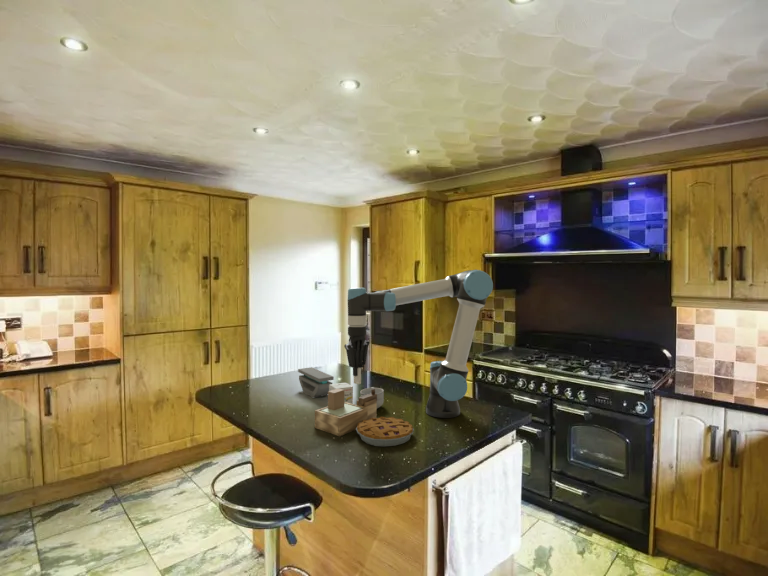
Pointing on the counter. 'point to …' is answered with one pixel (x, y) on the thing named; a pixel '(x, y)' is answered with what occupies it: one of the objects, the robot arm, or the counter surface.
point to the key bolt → (367, 397)
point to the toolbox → (345, 418)
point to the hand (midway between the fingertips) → (357, 383)
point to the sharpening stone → (314, 382)
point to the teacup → (377, 391)
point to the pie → (385, 431)
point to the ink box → (347, 391)
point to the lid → (338, 404)
